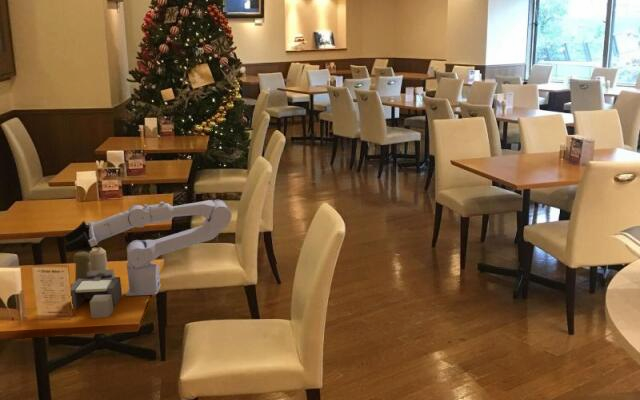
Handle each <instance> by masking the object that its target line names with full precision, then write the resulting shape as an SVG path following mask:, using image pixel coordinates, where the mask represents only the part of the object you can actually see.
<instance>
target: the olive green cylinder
mask: <svg viewBox="0 0 640 400" xmlns="http://www.w3.org/2000/svg"><path fill="white" fill-rule="evenodd" d="M72 260H73V262H74V264H75V282H76V281H77V279H86V273H87V271H91V268H90V261H89V260H90V255H89V251H88V252H87V251H78V252H76V253H74V254H73V257H72ZM75 282H74V283H75Z"/></svg>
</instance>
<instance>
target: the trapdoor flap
mask: <svg viewBox="0 0 640 400" xmlns="http://www.w3.org/2000/svg"><path fill="white" fill-rule="evenodd" d="M108 277H116V275H115V270H114V269H108V270H93V271H87V273H86V278H94V280H95V281H82V282H81V283H80V285H79V286H78V287H77V289H76V290H75V291H76V292H96V291H107V288H108V287H109V285H110V284H111V282H112V280H101V278H108Z"/></svg>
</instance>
